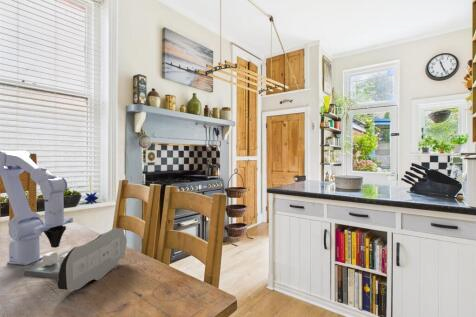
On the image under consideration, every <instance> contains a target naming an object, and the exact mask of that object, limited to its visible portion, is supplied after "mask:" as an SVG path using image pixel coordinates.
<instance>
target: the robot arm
mask: <svg viewBox="0 0 476 317" xmlns="http://www.w3.org/2000/svg"><path fill="white" fill-rule="evenodd" d="M24 172H26V173H28V174H30V175H29V177H30V179H31V181H33V182H34V183H35V184H36V185H38V186H39V188H40V192H41V194H42V195H41V196H42V198H43V200H44V220H43V219H42V217H41V216H40V213H38V212H35V211H32V210H31V207H30V204H29V201H28V198H27V196H26V192H25V190H24V187H23V184H22V181H21V179H20V175H21V174H22V173H24ZM0 178H1V181H2V183H3V187H4V189H5V192H6V196H7V198H8V201H9V204H10V206H11V210H12V213H13V215H14V216H13V217H12V218H11V219H10V220H9V222H8V223H7V226H8V234H9V237H10V238H11V241H10V242H9V245H8V261H6V263H7V264H13V265H23V266H24V265H25V266H27V265H30V264H33V263H35V262H37V261H39V260H41V259H42V260H43V255H44V254H41V252H40V251H41V246H40V244H41V243H40V242H41V241H40V239H41V238H40V237H41V236H42V233H44V235H45V236H46V237H47V239H48V242H49V244H50V246H51V248H53V249H55V248H58V247H60V244H61V240H62V236H63V234H64V233H65V231H66V230H67V226H66V225H67V224H71V223H74V218H73V217H71V216H70V217H68V216H67V217H65V211H64V208H65V207H64V206H65V205H64V193H65V192H66V191H67V189H68V183H67V180H66V179H65V178H64V177H62V176H59V177H58V176H56V175H54V173H52V172H51V171H49V170H48V168H47V167H44V166H38V164H36V162H34V161H33V159H31V153H29V152H28V151H27V150H0Z"/></svg>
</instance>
